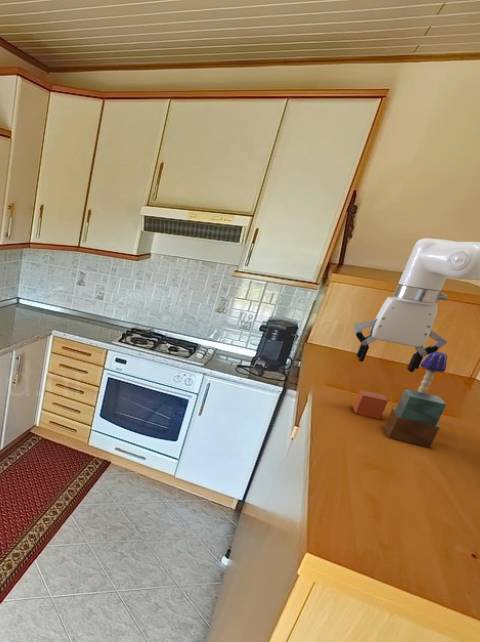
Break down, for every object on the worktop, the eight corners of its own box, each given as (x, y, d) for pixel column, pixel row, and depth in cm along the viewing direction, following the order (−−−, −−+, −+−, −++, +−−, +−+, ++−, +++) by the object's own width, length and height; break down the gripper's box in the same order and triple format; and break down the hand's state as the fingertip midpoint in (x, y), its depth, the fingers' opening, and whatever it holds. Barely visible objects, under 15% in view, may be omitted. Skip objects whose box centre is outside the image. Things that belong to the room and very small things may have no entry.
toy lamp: (426, 421, 120) (456, 357, 115) (403, 416, 122) (432, 353, 116) (417, 414, 125) (446, 352, 119) (395, 410, 126) (422, 348, 120)
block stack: (422, 437, 110) (441, 396, 107) (429, 448, 105) (450, 405, 101) (384, 427, 114) (401, 387, 110) (388, 437, 108) (407, 396, 104)
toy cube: (377, 413, 122) (384, 395, 121) (380, 419, 118) (388, 400, 117) (352, 407, 125) (360, 389, 123) (355, 413, 121) (362, 395, 119)
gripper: (460, 300, 110) (426, 371, 116) (367, 286, 118) (340, 353, 124) (470, 304, 104) (434, 379, 110) (371, 289, 112) (342, 360, 118)
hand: (384, 365), depth 117 cm, fingers open, 9 cm apart
